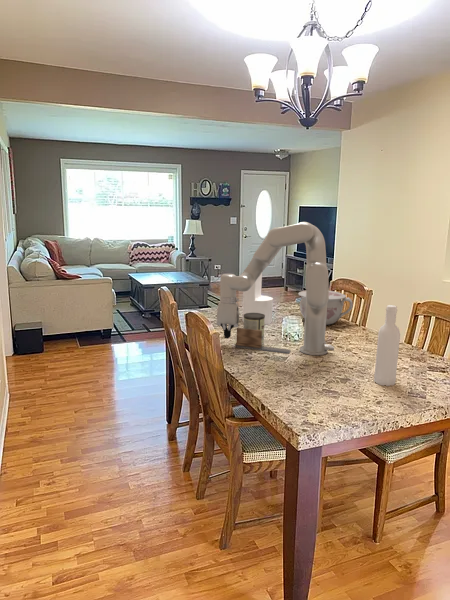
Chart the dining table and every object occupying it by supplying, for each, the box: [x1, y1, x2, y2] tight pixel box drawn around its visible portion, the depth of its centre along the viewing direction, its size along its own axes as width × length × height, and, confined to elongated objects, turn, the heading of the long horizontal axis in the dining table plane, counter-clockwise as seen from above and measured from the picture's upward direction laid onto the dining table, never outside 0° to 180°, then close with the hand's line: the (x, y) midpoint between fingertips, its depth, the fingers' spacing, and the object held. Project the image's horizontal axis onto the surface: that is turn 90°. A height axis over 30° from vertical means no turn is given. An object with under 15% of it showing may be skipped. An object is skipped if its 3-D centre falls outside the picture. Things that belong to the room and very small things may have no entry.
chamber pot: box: [297, 289, 354, 326], centre depth 260 cm, size 28×28×21 cm
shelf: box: [235, 327, 263, 348], centre depth 211 cm, size 12×3×8 cm, turn 71°
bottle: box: [373, 304, 401, 387], centre depth 169 cm, size 8×8×30 cm
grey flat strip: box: [235, 344, 291, 355], centre depth 209 cm, size 26×4×1 cm, turn 71°
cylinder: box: [241, 272, 274, 326], centre depth 259 cm, size 17×17×28 cm
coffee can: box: [243, 313, 265, 346], centre depth 218 cm, size 10×10×14 cm
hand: (227, 337), depth 214 cm, fingers closed
